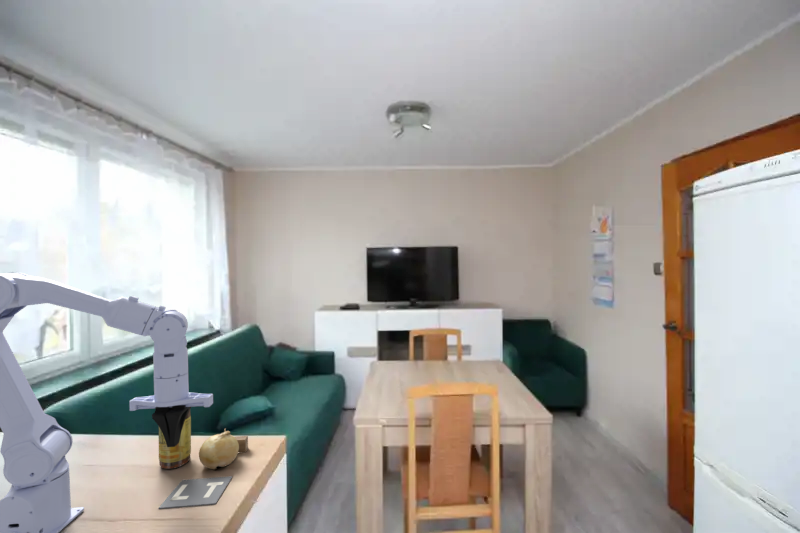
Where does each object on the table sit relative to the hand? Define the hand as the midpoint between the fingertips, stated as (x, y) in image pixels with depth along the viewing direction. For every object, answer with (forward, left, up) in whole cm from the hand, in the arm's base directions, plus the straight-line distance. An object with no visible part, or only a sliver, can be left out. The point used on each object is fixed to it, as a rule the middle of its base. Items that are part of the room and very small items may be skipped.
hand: (173, 444), depth 74 cm
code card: (0, -4, -10) cm, 11 cm away
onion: (+11, -4, -10) cm, 15 cm away
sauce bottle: (+12, +6, -10) cm, 17 cm away
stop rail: (+16, -4, -10) cm, 19 cm away
